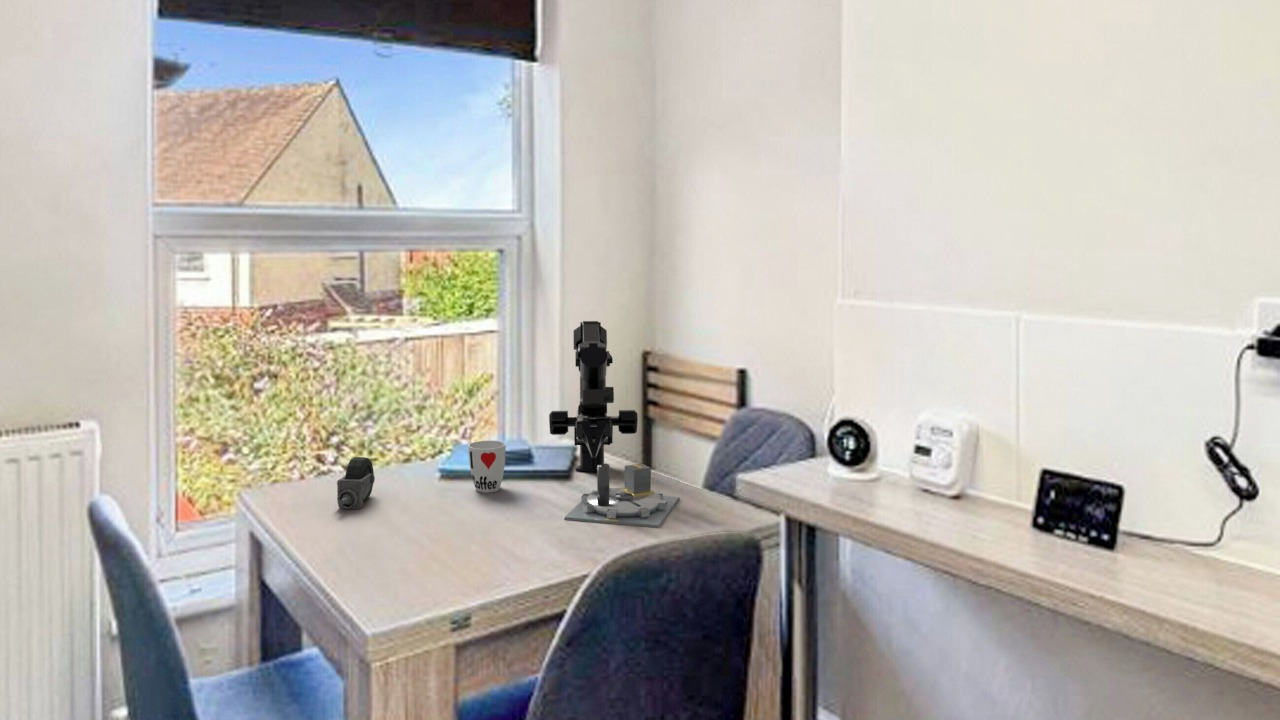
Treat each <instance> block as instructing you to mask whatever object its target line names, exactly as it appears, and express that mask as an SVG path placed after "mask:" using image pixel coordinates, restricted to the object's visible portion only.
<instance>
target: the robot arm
mask: <svg viewBox="0 0 1280 720" xmlns="http://www.w3.org/2000/svg"><path fill="white" fill-rule="evenodd" d="M601 325H602V324H601V321H598V320H583V321H580V323H579V326H577V328H575V329H573V350H574V351H575V353H574V354H575V357H574V358H575V367H576V368H578V372H579V405H578V406H577V407H578V408H577V411H576V413H577V414H576V416H574V417H573V416H571V417H570V416H569V411H568V410H551V412H550V413H549V415H548V417H549V418H548V420H549V421H548V422H549V434H551V435H553V436H557V435H560V436H562V435H564V436H566V434H568V432H569V427H570V428H573V429H574V431H573V433H574V435H573V436H574V446H575V447H576V446H579V464H578V466H576V467H575V471H577V472H587V473H588V472H589V473H597V465H599V464H605V446H610V445H612V444H613V437H614V435H613V432H614V431H613V429H614V428H613V427H616V426H617V427H618V428H617V429H618V432H620V434H622V435H630V434H631V435H632V434H633V435H635V434H636V433H637V432H638V422H639V420H638V412H637V411H636V410H635V409H619V410H618V416H617V415H615V416H613V415H612V416H611V415H610V416H609V415H608V404H614V402H615V401H614V400H615V398H614V397H615V395H614V394H615V392H614V388H615V387H614V386H607V383H606V382H607V378H606V376H607V367H610V366H611V364H613V361H614V360H613V356H612V355H611V354H610V351H609V350H607V348H608V336H607V335H608V333H607V329H605V328H604V327H602V326H601ZM607 464H608V465H609V466H610V464H609V463H607Z"/></svg>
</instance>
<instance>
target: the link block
mask: <svg viewBox="0 0 1280 720" xmlns="http://www.w3.org/2000/svg"><path fill="white" fill-rule="evenodd" d="M651 477H652V467H650V466H648V465H646V464H643V463H633V464H627V465H626V464H625V465H624V488H625V489H626V490H628V491H630V492H631V493H633V494H636V493H642V492H648V491H651V490H652V488H651V487H652V486H651V484H652V480H651V479H652V478H651Z"/></svg>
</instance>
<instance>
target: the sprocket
mask: <svg viewBox="0 0 1280 720" xmlns="http://www.w3.org/2000/svg"><path fill="white" fill-rule="evenodd" d="M608 464H609V463H604V464H599V465H597V472H596V473H597V474H596V475H597V476H596V477H597V478H596V481H597V482H596V483H597V485H596V486H597V487H596V492H593V493H591V492H590V493H591V494H590V493H583V494H582V495H581V499H580V500H581V501H580V502H581V503H583V511H585V512H587V513H589V512H595V513H598V514H601V515H606V516H607V518H615V519H616V518H617V517H632V516H640V517H648V516H650V513H653V512H655V511H657V510H658V509H661V510H665V509H666V508H667V500H663V496H664V492H662V491H660V490H658V491H657V490H656V491H655V490H654V489H653V490H652V489H651V491H648V492H642V493H636V494H633V493H631V492H630V491H628V490H626V489H625V487H611V488H610V464H609V465H608Z"/></svg>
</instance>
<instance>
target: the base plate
mask: <svg viewBox="0 0 1280 720" xmlns="http://www.w3.org/2000/svg"><path fill="white" fill-rule="evenodd" d="M596 491H597V489H596V490H594V489H593V490H592V491H591V492H589V494H591V493H593V492H596ZM663 500H667V508H666V509H665V510H661V509H658V510H657V511H655V512H653V513H650V516H648V517H640V516H632V517H617V518H616V519H615V518H607V516H606V515H601V514H598V513H595V512H589V513H587V512H585V511H583V503H581V501H580V502H579V503H578V504H577V505H576V506H574V508H573V509H571V510H570V511H569V512H568V513H567V514H566V515H564V520H566V521H574V522H575V521H577V522H588V523H600V524H613V525H624V526H635V527H646V528H647V527H648V528H656V529H657V528H658V529H659V528H660V527H661V525H662V524H663V523H664V521H665V520H666V519H667V517H668V516H669V514H670V512H672V510H673V508H674V507H675V506H676V504H677V503H678V501H679V500H680V496H674V495H673V496H671V495H663Z"/></svg>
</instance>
